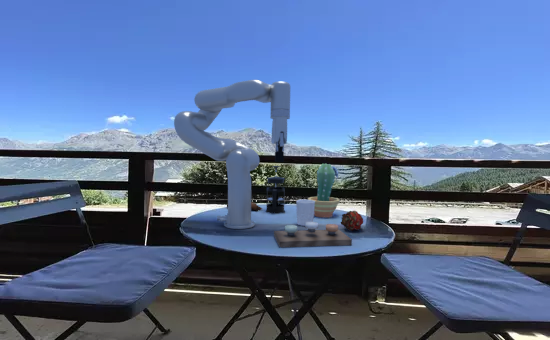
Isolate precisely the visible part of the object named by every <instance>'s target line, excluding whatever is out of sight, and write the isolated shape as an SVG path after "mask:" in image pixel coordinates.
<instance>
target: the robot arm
mask: <svg viewBox="0 0 550 340" xmlns="http://www.w3.org/2000/svg"><path fill="white" fill-rule="evenodd" d="M193 100H194V104H195V107H197V108H198V109H199V110H198V112H196V111H191V110H190V111H189V110H183V111H180V112H178V113H177V114H176V115H175V116H174V120H173V126H174V129H175V130H174V131H175V132H176V133H175V134H177V136H178V137H179V138H180V140H181V141H182V142H183V143H185V144H186V145H188V146H190V147H191V148H194V149H196V150H197V151H199V152H200V153H202V154H204V155H206V156H208V157H210V158H211V159H213V160H215V161H217V162H218V161H219V162H221V161H225V162H226V163H225V165H226V172H227V173H226V174H227V203H228V208H227V213H226V214H224V215H217V216H216V221H217V222H218V221H219V222H223V225H224V227H225V228H228V229H235V230H246V229H251V228H253V227H255V224H256V223H255V221H253V220H252V210H251V202H252V176H251V173H250V172H251V171H254V170H255V169H257V168H258V166H259V164H260V157H259V156H260V155H259V154H258V153H257V151H256V150H254V149H252V148H251V147H249V146H246V145H244V144H242V143H240V142H238V141H237V140H234V139H231V138H225V137H223V138H221V137H218V136H215V135H213V134H211V133H209V132H207V131H206V130H207V129H208V128H209V127H210V126H211V125H212V123H213V122H214V121H215V119H216V118H217V117H218V115H219V114H220V113H221V112H222V110H223V109H230V108H234V107H235V105H236V104H237V103H242V102H247V101H255V102H259V103H263V104H268V103H270V119H272V123H271V139H270V142H271V144H273V145H275V151H274V162H275V163H284V162H285V158H284V157H285V151H284V150H285V144H287V141H288V120H290V118H291V84H290V83H289V82H288V81H274V82H272V83H271V84H270V83H267V82H264V81H262V80H258V79H249V80H242V81H237V82H234V83H232V84H230V85H227V86H223V87H222V86H221V87H216V88H209V89H204V90H200V91H198V92H197V93H196V94H195V96H194V99H193Z"/></svg>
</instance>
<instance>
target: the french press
mask: <svg viewBox="0 0 550 340" xmlns="http://www.w3.org/2000/svg"><path fill="white" fill-rule="evenodd" d="M271 168H274V170H275V171H277V170H278V168H281V166H278V165H273V166H271ZM266 179H267V183H268V184H275V186H268V187H266V200H267V202H270V203H266V210H265V212H266V213H269V214H283V213H285V203H279V202H284V201H285V198H284V197H283V198H282V197H279V193H280V192H283V195H285V193H286V192H285V189H286V188H285V187H283V186H277V185H278V184H283V183H285V182H284V181H285V177H280V176H273V177H267V178H266ZM268 192H270V193H272V195H271V197H268ZM271 202H272V203H271Z"/></svg>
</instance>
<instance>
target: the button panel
mask: <svg viewBox="0 0 550 340" xmlns="http://www.w3.org/2000/svg"><path fill="white" fill-rule="evenodd" d="M273 237H274V240H275V241H276V243H277V246H278V247H279V248H280V247H281V248H301V247H302V248H305V247H307V248H308V247H309V248H311V247H336V246H337V247H338V246H340V247H341V246H352V245H353V243H352V242H353V239H352V238H351V237H349V236H348V235H346V233H344V232H343V231H342V230H340V229H339V228H338V231H336V232H335V235H330V234H328V231H327V230H326V229H315V232H313V233H311V232H308V229H307V230H305V229H304V230H298V229H297V232H295V235H294V236H288V235H287V232H285V230H273Z"/></svg>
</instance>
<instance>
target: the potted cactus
mask: <svg viewBox="0 0 550 340" xmlns="http://www.w3.org/2000/svg"><path fill="white" fill-rule="evenodd" d="M338 177H339V171H338V168H337V167H335V166H334V165H332V164H330V163H329V164H327V163H322V164H320V166H319V167H318V168H317V171H316V182H317V194H316V196H310V197H308V198H307V200H313V201H315V208H314V217H318V218H332V217H333V213H334V212H335V210H336V209H337V206H338V204H340V202H341V199H339V198H338V197H333V196H331V193H332V190H333V189H332V187H333V186H334V184H335V179H338Z"/></svg>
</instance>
